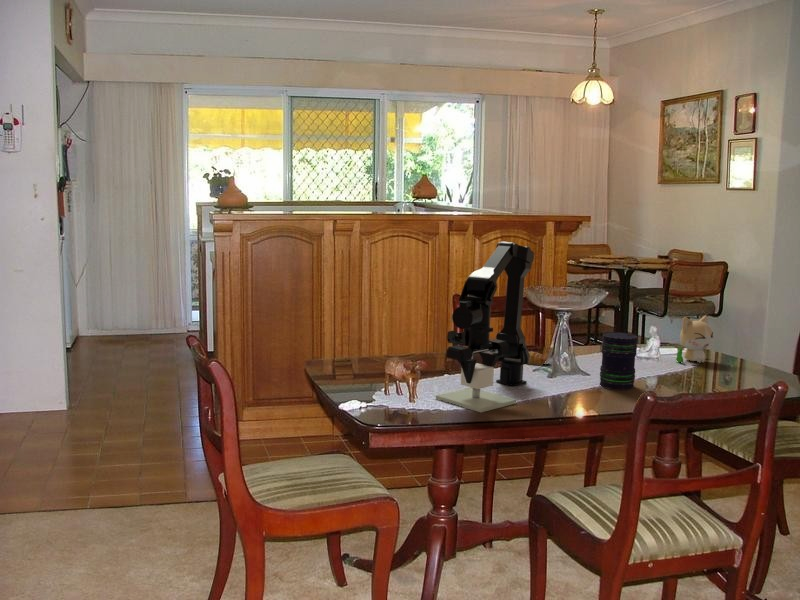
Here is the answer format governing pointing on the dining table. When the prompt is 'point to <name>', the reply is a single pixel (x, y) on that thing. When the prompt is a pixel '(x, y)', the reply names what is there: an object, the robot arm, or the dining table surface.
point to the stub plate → (476, 399)
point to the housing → (479, 377)
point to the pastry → (537, 358)
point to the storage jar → (618, 360)
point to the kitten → (695, 339)
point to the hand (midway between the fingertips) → (476, 381)
